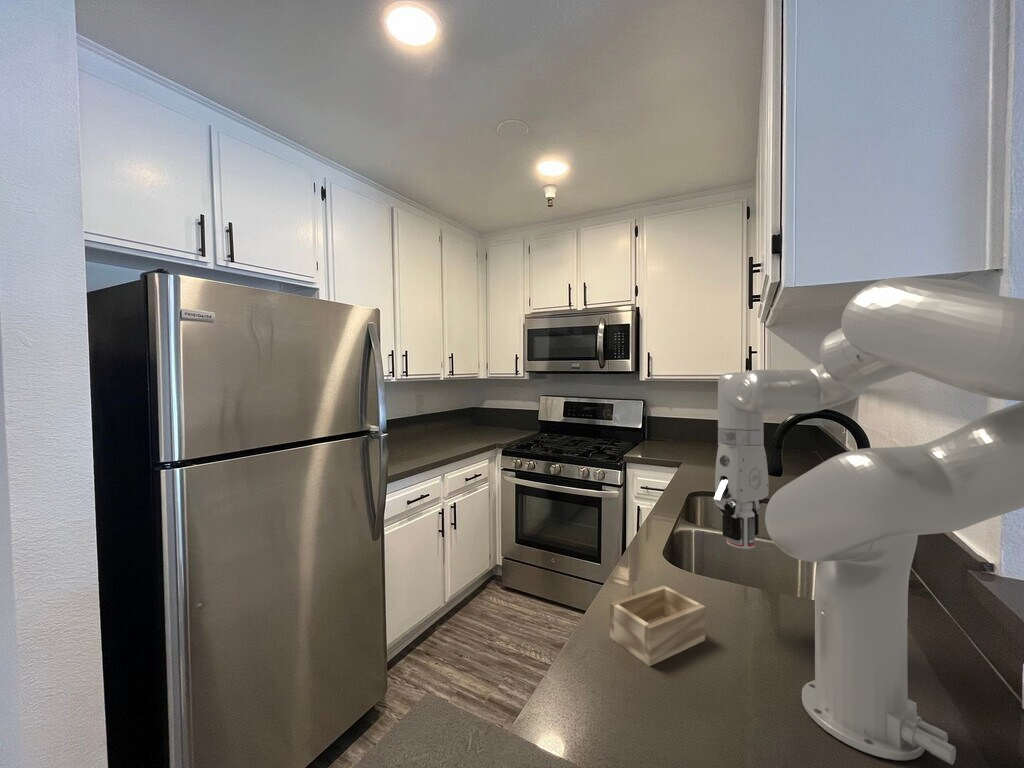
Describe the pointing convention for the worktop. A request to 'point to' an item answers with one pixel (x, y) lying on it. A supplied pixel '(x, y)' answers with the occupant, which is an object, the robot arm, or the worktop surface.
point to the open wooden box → (657, 624)
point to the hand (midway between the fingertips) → (740, 534)
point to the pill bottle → (745, 527)
